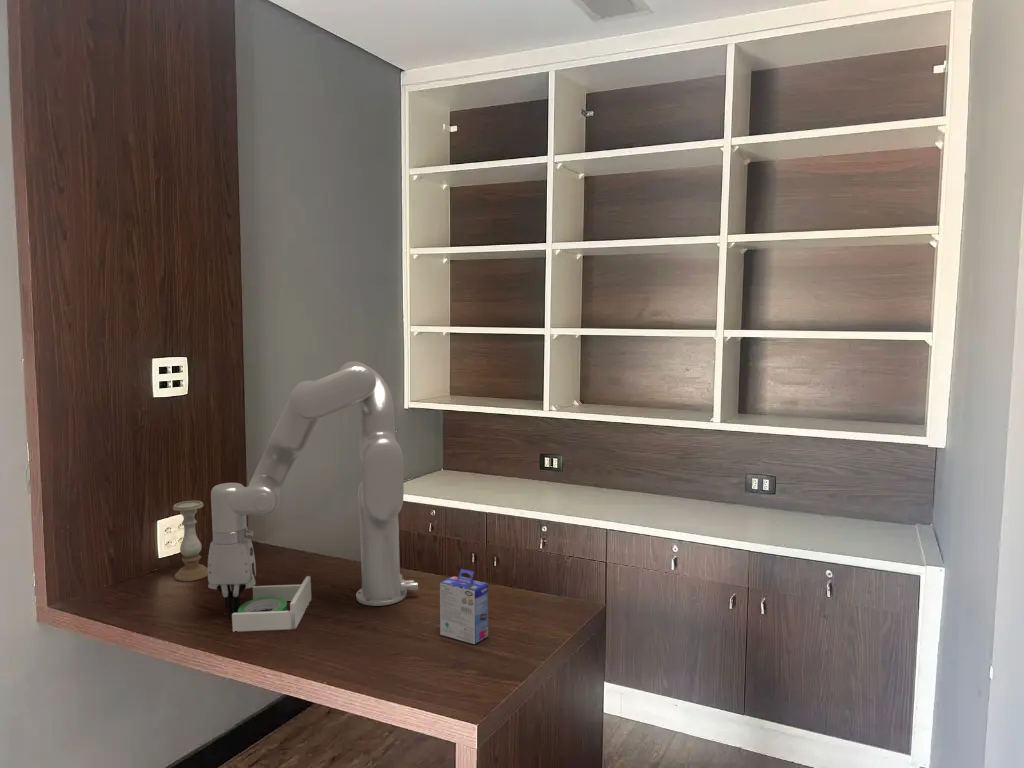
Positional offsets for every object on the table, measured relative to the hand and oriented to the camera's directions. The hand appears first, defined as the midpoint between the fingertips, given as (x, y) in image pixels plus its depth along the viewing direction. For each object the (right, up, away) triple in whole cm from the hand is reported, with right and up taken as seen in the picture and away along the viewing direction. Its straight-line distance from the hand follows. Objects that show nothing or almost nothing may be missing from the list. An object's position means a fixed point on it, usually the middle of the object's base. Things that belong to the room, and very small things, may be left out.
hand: (233, 611), depth 170 cm
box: (+9, -1, +1) cm, 9 cm away
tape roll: (+7, -2, 0) cm, 7 cm away
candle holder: (-22, +1, +27) cm, 35 cm away
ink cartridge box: (+56, -2, -12) cm, 57 cm away
